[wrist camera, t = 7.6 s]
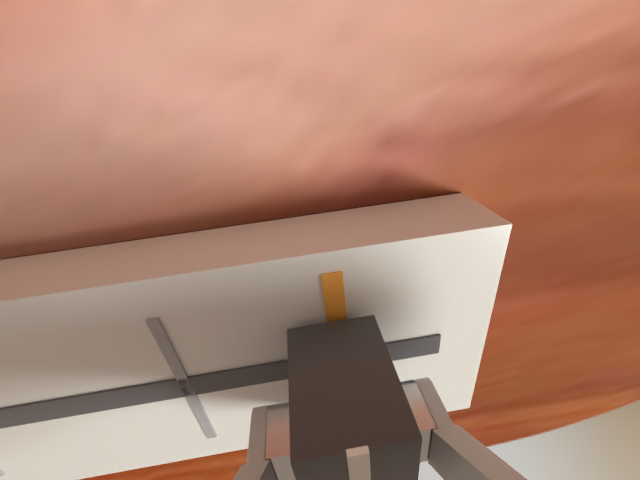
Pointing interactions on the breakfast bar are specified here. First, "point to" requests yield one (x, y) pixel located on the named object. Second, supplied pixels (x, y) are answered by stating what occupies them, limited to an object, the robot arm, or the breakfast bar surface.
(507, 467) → the robot arm
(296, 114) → the breakfast bar surface
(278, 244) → the fader console
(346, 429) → the fader knob
